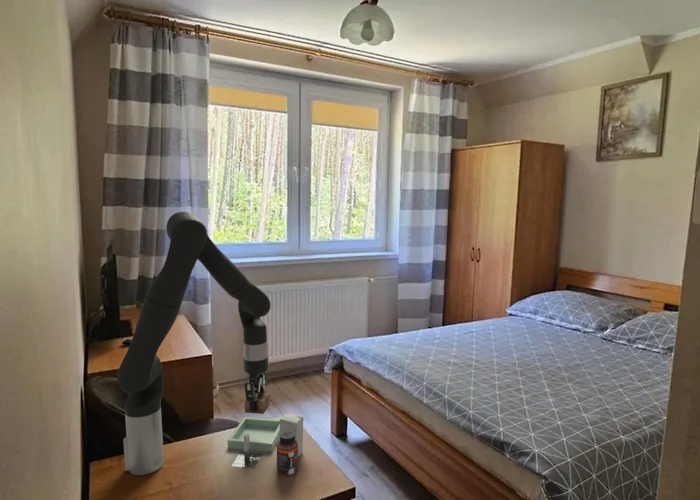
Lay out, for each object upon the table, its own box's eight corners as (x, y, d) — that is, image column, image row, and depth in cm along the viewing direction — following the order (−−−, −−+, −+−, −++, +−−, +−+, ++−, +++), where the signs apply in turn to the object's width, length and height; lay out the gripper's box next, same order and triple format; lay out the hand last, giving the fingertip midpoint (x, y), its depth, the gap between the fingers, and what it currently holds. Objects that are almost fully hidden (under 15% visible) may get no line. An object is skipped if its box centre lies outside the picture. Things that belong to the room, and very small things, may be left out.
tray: (227, 449, 138) (227, 440, 137) (244, 425, 151) (244, 417, 151) (272, 453, 136) (272, 443, 135) (284, 428, 150) (284, 420, 149)
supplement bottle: (297, 478, 124) (297, 440, 123) (276, 479, 124) (275, 441, 122) (298, 465, 130) (298, 428, 129) (278, 465, 130) (277, 429, 128)
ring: (263, 413, 138) (263, 401, 138) (241, 412, 139) (241, 400, 139) (269, 404, 144) (269, 392, 144) (248, 403, 145) (248, 391, 145)
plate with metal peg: (231, 467, 129) (230, 441, 128) (240, 453, 136) (239, 428, 134) (254, 470, 128) (254, 443, 127) (262, 455, 135) (262, 430, 134)
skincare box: (278, 456, 134) (278, 418, 133) (286, 448, 138) (286, 411, 137) (296, 461, 132) (296, 423, 130) (304, 453, 136) (303, 416, 134)
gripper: (259, 365, 132) (261, 418, 134) (274, 347, 146) (275, 396, 148) (235, 363, 133) (237, 417, 135) (252, 346, 147) (253, 395, 149)
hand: (257, 406), depth 142 cm, fingers closed on ring, 6 cm apart
